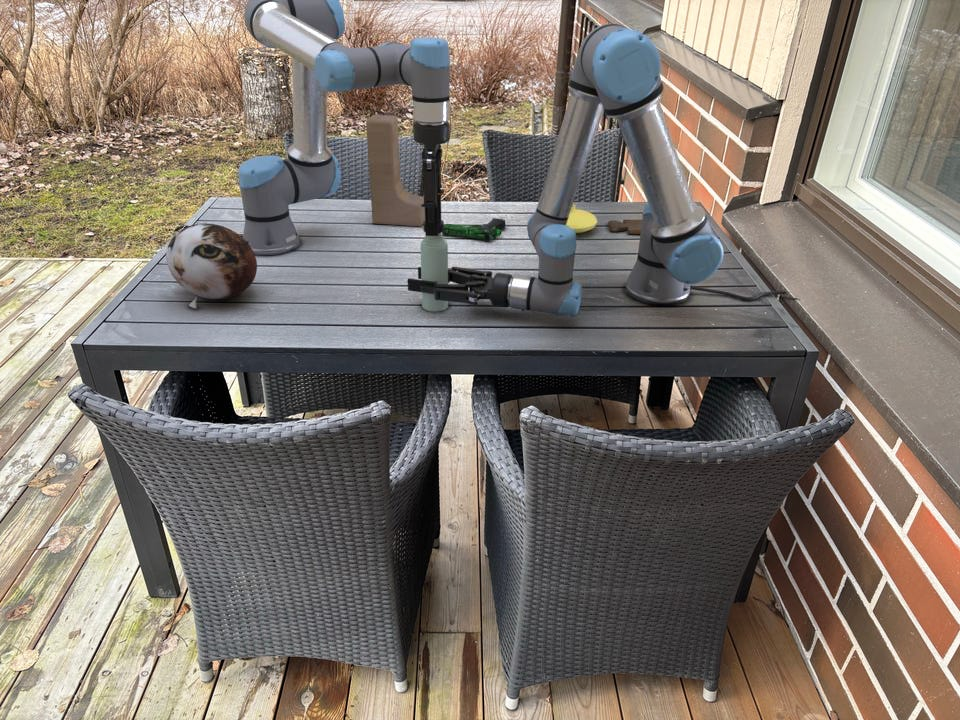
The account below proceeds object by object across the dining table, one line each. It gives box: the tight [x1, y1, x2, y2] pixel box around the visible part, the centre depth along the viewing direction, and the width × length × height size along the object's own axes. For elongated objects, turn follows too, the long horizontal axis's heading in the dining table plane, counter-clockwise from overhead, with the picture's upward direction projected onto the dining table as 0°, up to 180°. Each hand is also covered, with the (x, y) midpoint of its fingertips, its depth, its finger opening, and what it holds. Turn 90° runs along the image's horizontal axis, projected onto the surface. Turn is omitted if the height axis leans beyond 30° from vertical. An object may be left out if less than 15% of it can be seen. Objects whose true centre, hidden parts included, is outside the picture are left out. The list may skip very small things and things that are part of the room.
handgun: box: [441, 217, 506, 242], centre depth 207 cm, size 16×3×15 cm
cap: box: [422, 219, 445, 234], centre depth 157 cm, size 4×4×2 cm
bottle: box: [419, 233, 449, 312], centre depth 161 cm, size 6×6×20 cm
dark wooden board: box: [607, 219, 642, 235], centre depth 211 cm, size 26×2×10 cm
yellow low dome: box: [566, 204, 598, 234], centre depth 209 cm, size 16×16×7 cm
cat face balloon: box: [165, 222, 258, 309], centre depth 165 cm, size 22×18×20 cm
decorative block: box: [365, 114, 425, 227], centre depth 207 cm, size 8×15×30 cm, turn 82°
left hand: (433, 229), depth 157 cm, fingers open, 7 cm apart
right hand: (413, 278), depth 164 cm, fingers closed on bottle, 6 cm apart
